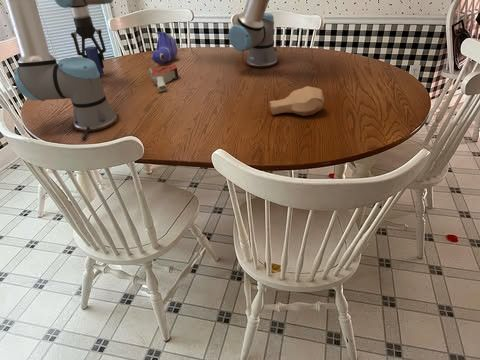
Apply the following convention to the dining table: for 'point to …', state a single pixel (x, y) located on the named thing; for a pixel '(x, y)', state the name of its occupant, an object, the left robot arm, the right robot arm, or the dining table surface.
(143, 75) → the dining table surface
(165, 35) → the toy
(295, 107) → the squash
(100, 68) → the can
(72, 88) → the left robot arm
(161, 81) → the tape dispenser
